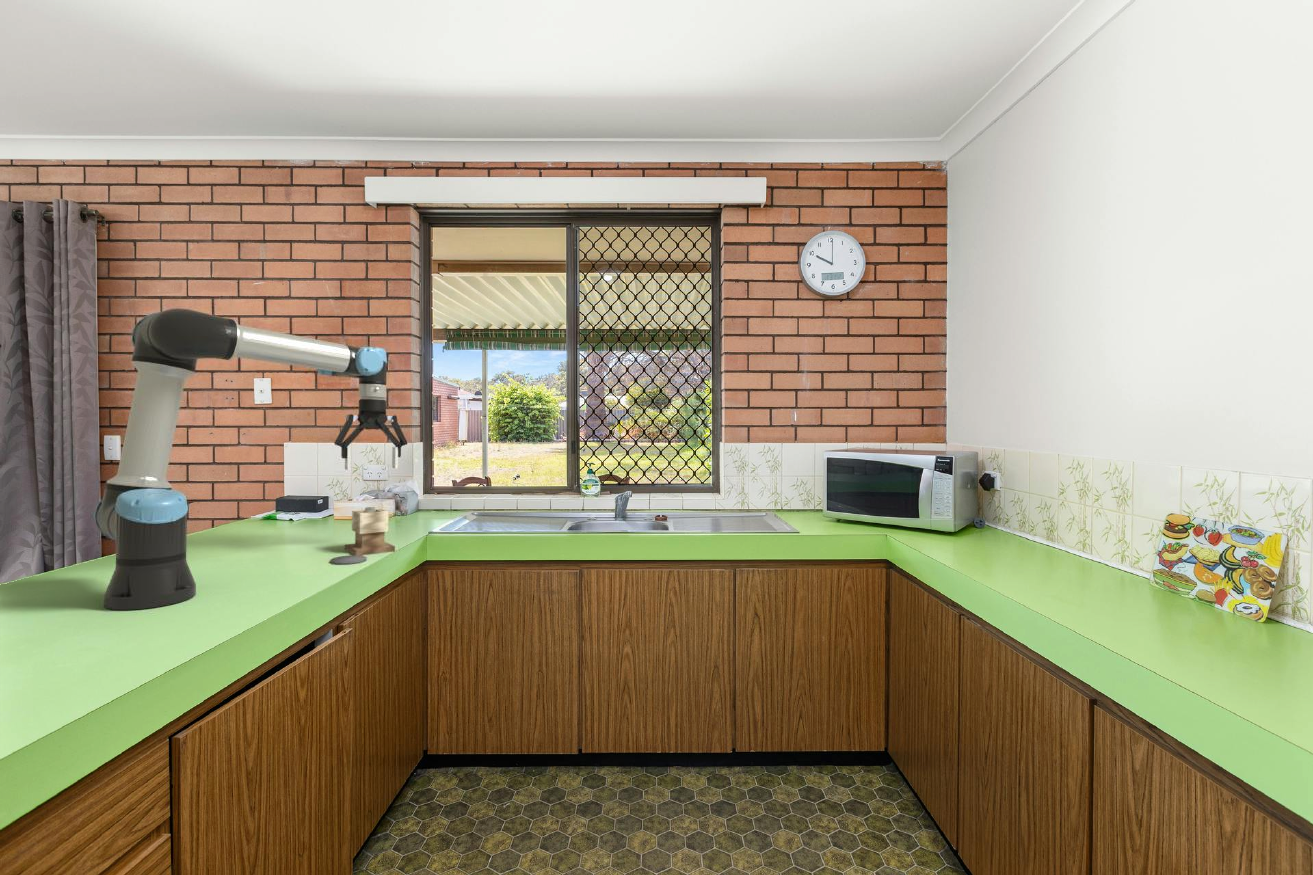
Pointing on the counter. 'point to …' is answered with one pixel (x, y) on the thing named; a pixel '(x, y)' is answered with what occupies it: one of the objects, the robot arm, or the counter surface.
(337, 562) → the rubber coaster
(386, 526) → the birch collar
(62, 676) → the counter surface
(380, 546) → the post stand
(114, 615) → the counter surface
